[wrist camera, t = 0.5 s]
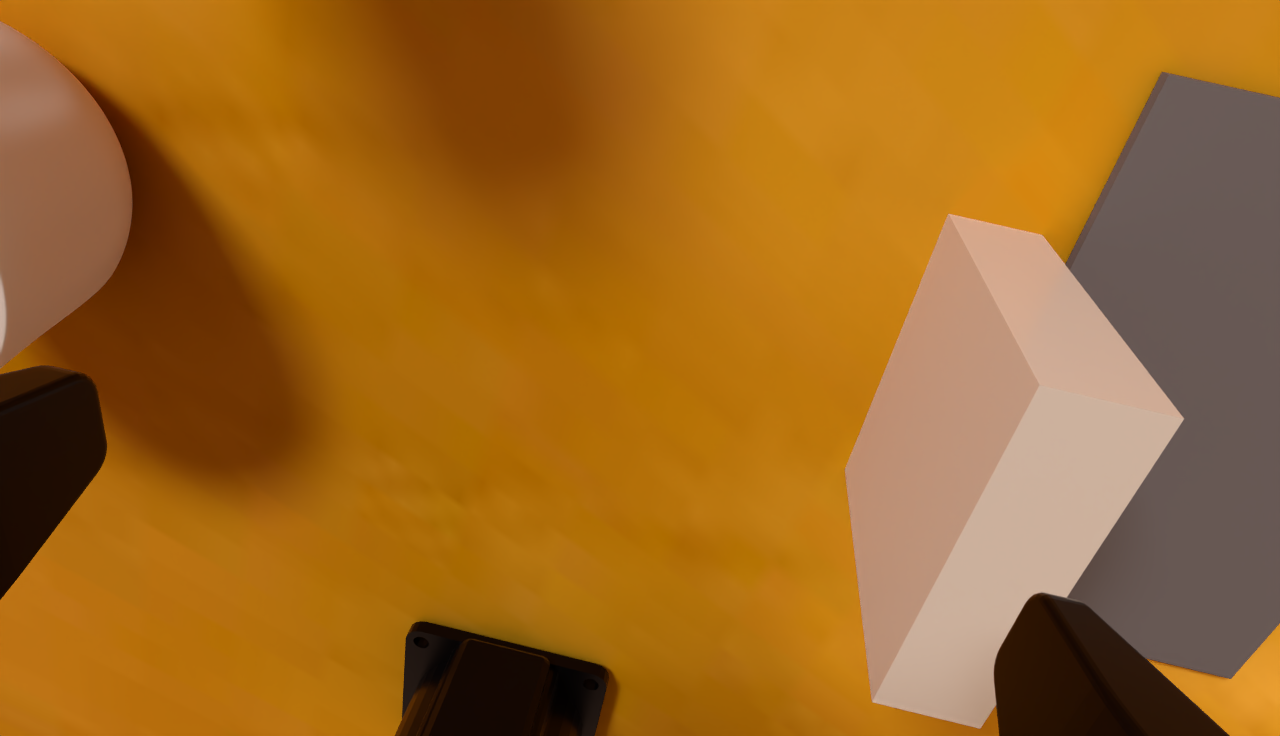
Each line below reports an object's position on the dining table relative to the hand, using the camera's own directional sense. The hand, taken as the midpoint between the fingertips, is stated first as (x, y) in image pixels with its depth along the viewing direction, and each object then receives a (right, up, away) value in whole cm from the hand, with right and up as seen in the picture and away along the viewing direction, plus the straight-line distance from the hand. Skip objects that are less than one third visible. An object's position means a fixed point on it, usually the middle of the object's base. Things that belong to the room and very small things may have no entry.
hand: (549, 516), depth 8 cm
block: (+8, +2, +11) cm, 14 cm away
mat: (+14, 0, +11) cm, 18 cm away
